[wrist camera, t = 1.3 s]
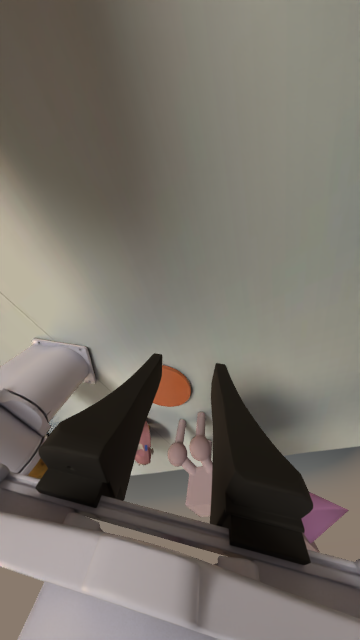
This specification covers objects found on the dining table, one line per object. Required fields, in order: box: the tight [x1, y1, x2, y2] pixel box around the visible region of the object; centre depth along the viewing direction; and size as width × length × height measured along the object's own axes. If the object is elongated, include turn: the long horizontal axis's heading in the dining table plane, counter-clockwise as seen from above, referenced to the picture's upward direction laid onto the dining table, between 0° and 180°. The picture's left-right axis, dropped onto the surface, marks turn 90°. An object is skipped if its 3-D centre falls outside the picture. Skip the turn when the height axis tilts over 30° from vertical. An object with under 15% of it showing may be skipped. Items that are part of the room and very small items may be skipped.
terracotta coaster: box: [153, 365, 191, 407], centre depth 28 cm, size 9×9×1 cm
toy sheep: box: [168, 412, 348, 553], centre depth 23 cm, size 20×11×14 cm, turn 131°
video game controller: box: [135, 421, 154, 465], centre depth 33 cm, size 10×5×7 cm, turn 176°
